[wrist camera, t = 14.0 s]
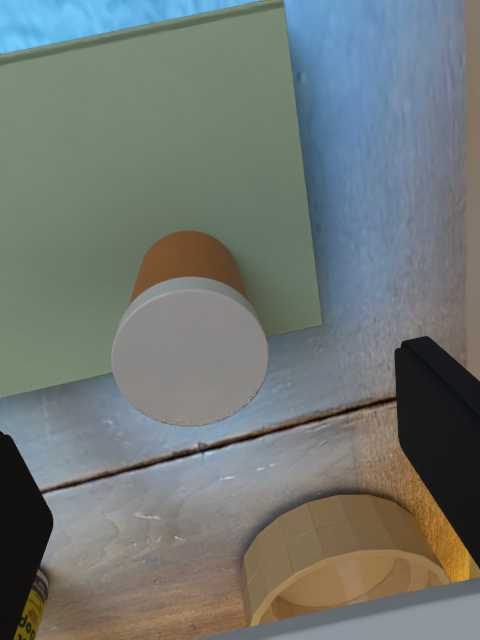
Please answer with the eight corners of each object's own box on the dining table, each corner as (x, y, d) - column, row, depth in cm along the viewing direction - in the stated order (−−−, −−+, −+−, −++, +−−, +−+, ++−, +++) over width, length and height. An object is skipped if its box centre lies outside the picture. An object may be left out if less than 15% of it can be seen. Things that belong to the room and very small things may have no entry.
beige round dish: (416, 468, 31) (456, 527, 26) (418, 590, 37) (451, 655, 32) (223, 514, 30) (229, 582, 26) (257, 629, 36) (267, 701, 32)
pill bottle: (228, 217, 19) (255, 272, 12) (248, 312, 21) (280, 408, 14) (124, 240, 19) (87, 310, 12) (153, 333, 21) (137, 441, 14)
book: (271, 11, 18) (283, -5, 16) (310, 306, 24) (322, 325, 22) (-196, 108, 18) (-251, 105, 16) (-39, 385, 24) (-62, 412, 22)
